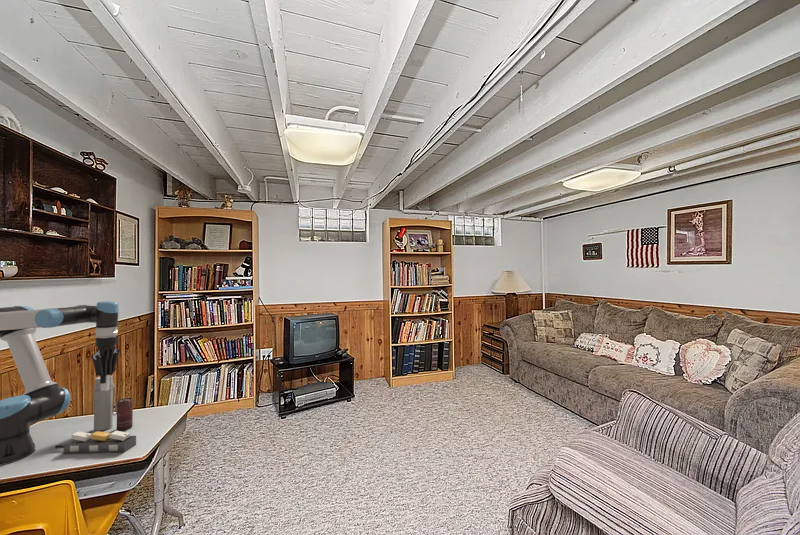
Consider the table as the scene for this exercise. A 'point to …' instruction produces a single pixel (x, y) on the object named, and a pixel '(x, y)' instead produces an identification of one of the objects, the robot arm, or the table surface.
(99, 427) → the water bottle
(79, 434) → the rocker
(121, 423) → the can
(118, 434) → the rocker
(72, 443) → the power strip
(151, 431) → the table surface
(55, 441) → the table surface
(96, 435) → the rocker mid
